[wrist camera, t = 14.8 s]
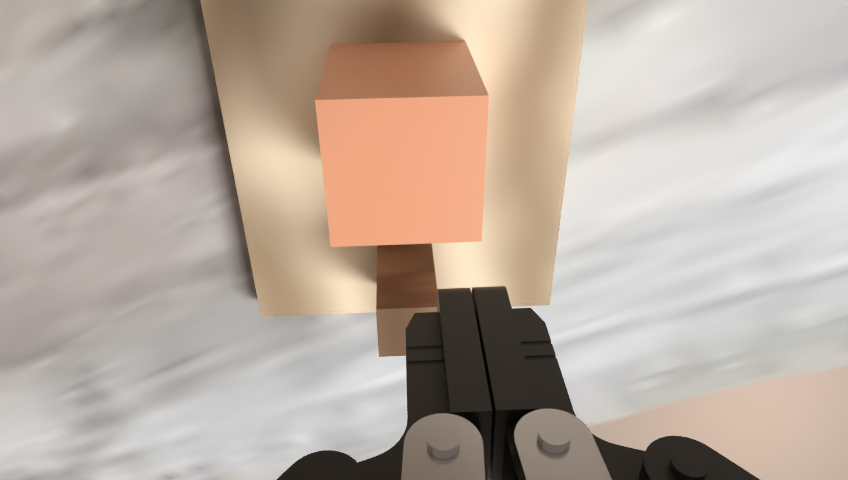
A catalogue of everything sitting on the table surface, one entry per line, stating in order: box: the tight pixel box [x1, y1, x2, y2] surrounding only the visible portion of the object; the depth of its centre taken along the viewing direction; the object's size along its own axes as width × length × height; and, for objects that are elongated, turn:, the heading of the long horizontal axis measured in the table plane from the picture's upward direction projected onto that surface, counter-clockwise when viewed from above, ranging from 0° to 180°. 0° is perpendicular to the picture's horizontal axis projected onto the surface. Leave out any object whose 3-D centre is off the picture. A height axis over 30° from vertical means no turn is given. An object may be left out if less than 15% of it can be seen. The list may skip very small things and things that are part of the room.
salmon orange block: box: [315, 41, 489, 247], centre depth 23 cm, size 5×5×7 cm
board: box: [200, 0, 588, 317], centre depth 26 cm, size 15×24×1 cm, turn 1°
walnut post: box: [376, 243, 437, 357], centre depth 28 cm, size 3×3×5 cm
